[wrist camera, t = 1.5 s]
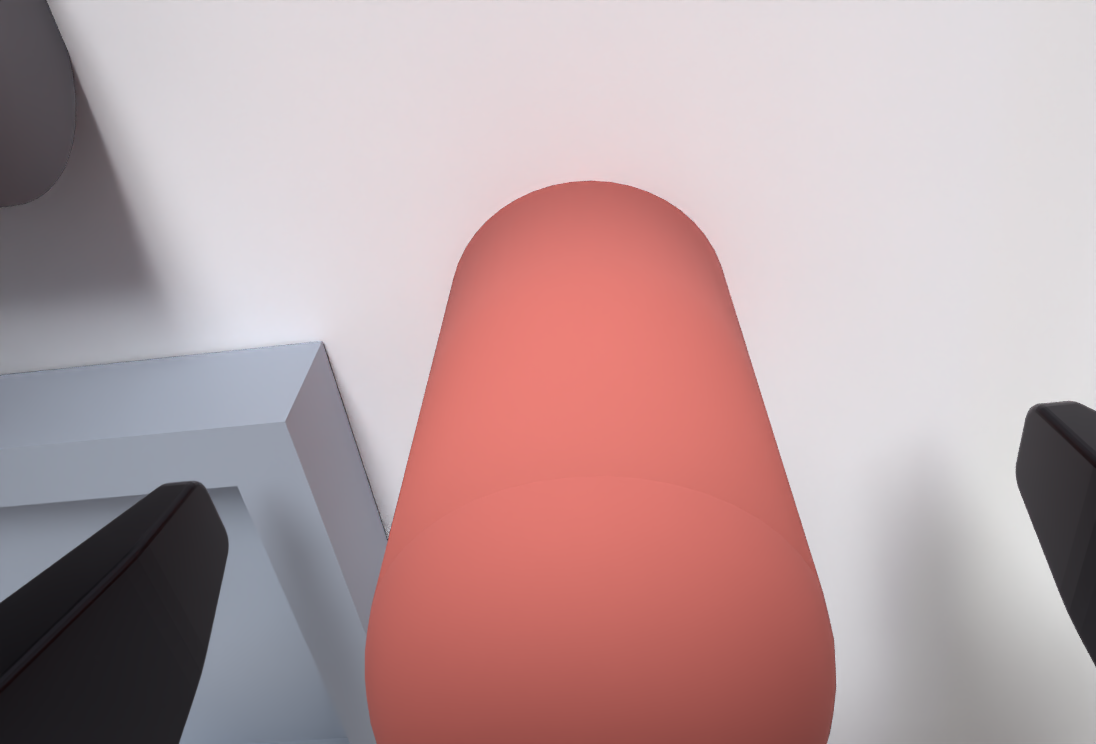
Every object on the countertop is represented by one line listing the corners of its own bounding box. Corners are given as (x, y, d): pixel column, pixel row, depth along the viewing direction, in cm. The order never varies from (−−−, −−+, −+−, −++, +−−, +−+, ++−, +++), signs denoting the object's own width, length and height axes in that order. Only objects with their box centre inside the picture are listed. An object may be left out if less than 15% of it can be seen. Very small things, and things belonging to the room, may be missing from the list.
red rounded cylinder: (723, 164, 11) (1014, 880, 4) (729, 409, 14) (921, 1171, 6) (424, 200, 12) (158, 915, 4) (477, 433, 14) (364, 1178, 6)
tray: (322, 340, 13) (285, 421, 11) (452, 739, 18) (440, 832, 17) (-279, 404, 14) (-394, 487, 12) (14, 764, 19) (-38, 855, 18)
